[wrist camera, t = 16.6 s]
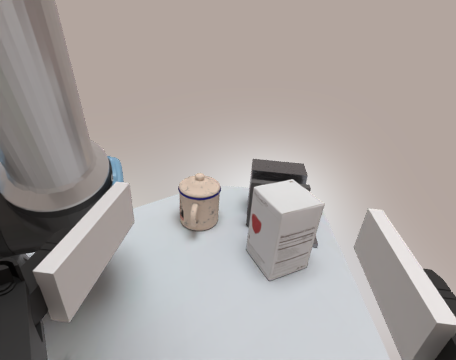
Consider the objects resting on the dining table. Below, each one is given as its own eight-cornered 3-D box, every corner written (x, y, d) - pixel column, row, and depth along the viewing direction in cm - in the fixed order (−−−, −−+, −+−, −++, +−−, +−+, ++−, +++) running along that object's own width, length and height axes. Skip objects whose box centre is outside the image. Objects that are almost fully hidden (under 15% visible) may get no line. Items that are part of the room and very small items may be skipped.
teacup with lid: (184, 206, 68) (183, 163, 63) (221, 210, 68) (223, 167, 62) (170, 238, 58) (168, 190, 52) (214, 243, 57) (216, 195, 52)
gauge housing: (245, 239, 59) (251, 190, 53) (247, 201, 72) (252, 158, 66) (316, 247, 58) (330, 199, 52) (306, 207, 71) (316, 165, 66)
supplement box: (244, 249, 57) (251, 185, 49) (280, 238, 60) (293, 177, 53) (268, 282, 49) (281, 213, 42) (308, 268, 53) (326, 202, 46)
